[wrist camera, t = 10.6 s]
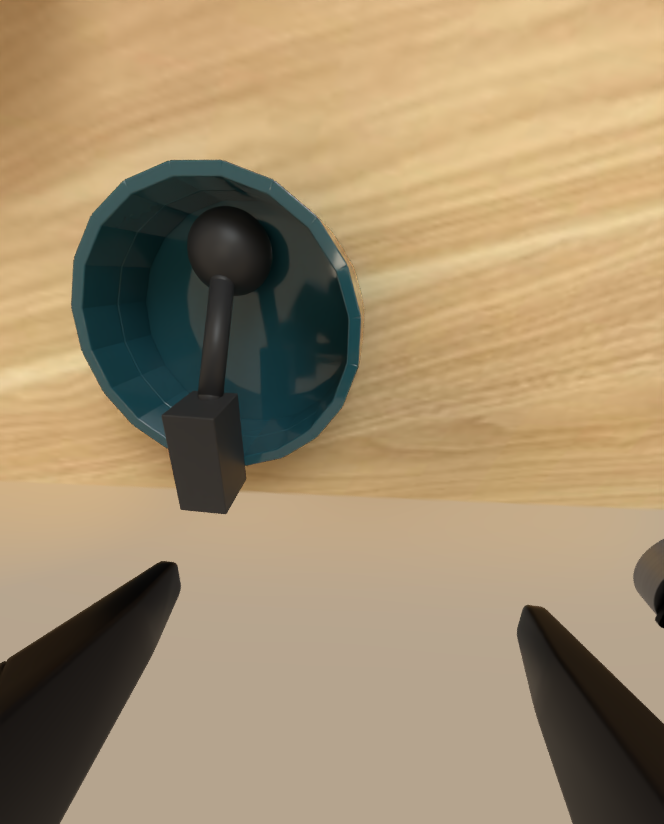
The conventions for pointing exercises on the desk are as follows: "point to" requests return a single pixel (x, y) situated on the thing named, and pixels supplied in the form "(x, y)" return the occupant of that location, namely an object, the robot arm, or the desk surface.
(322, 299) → the bowl
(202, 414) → the ladle
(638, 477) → the desk surface
